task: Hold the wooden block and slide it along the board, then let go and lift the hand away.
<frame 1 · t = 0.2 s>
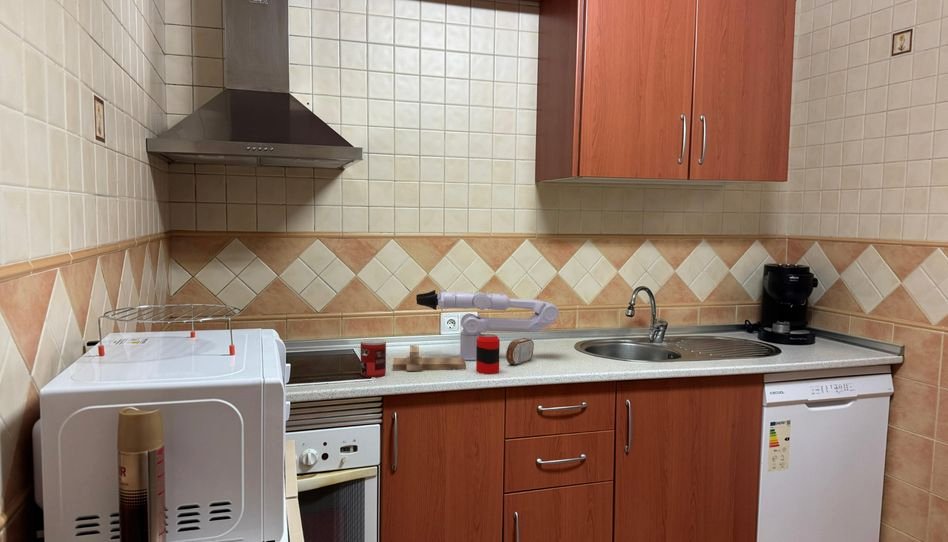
hand: (416, 299, 228), 21 cm above the worktop, tool horizontal, fingers open, 7 cm apart
board: (429, 366, 217), on the worktop
wooden block: (414, 361, 217), point 2 cm above the worktop, touching board
canned food: (373, 375, 205), on the worktop
soda can: (487, 372, 211), on the worktop
tin: (520, 363, 225), on the worktop
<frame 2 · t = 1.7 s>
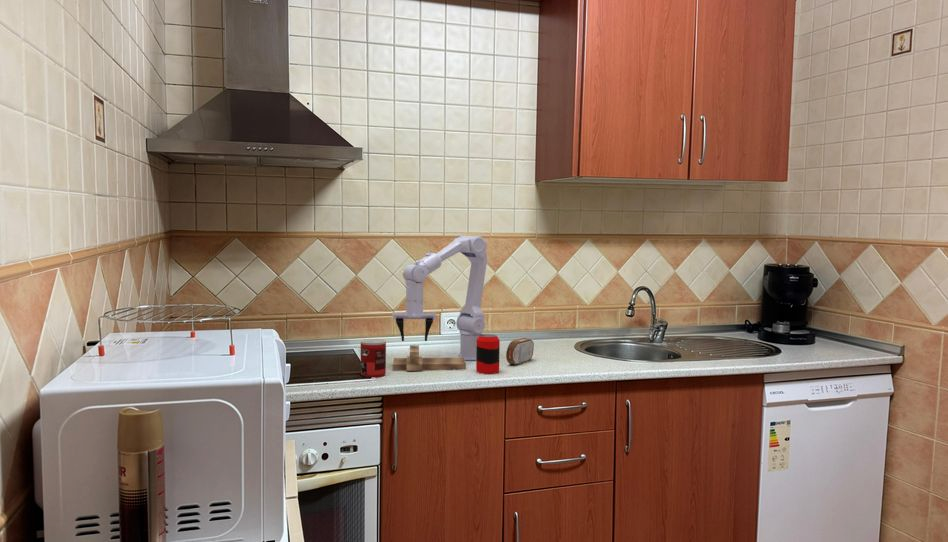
hand: (414, 340, 216), 9 cm above the worktop, tool pointing down, fingers open, 7 cm apart
nothing on the worktop moved.
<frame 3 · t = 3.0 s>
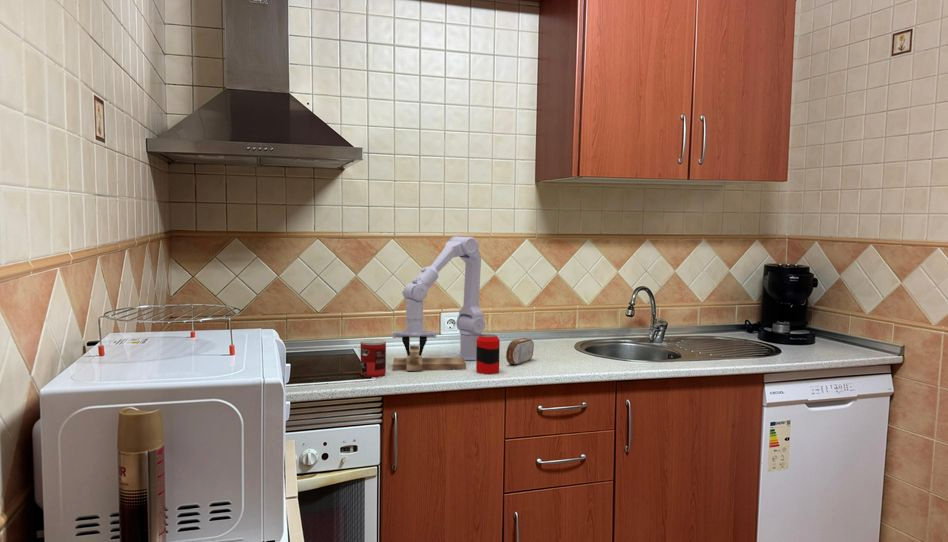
hand: (414, 358, 217), 3 cm above the worktop, tool pointing down, fingers closed on wooden block, 3 cm apart
wooden block: (414, 361, 217), point 2 cm above the worktop, touching board, gripper
everything else where it was.
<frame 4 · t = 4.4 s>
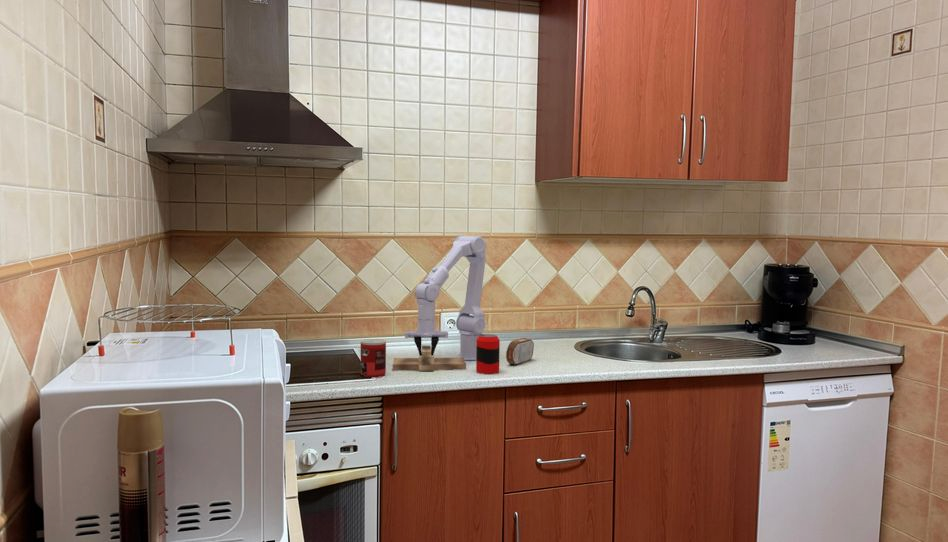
hand: (426, 358, 217), 3 cm above the worktop, tool pointing down, fingers closed on wooden block, 3 cm apart
wooden block: (426, 360, 217), point 2 cm above the worktop, touching gripper
everything else where it was.
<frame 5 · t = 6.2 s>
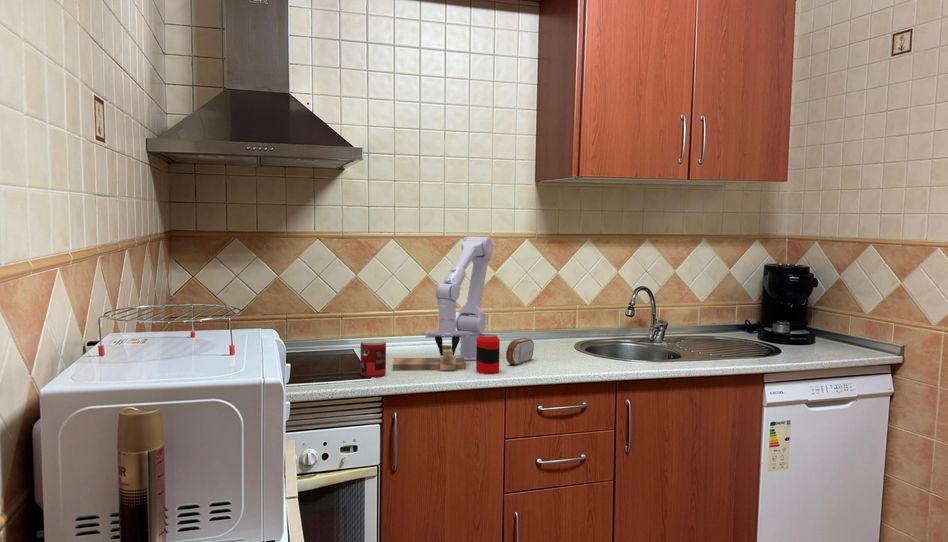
hand: (447, 358, 218), 3 cm above the worktop, tool pointing down, fingers closed on wooden block, 3 cm apart
wooden block: (447, 360, 218), point 2 cm above the worktop, touching board, gripper
everything else where it was.
when the fingers open (3 cm above the worktop, at t = 7.0 s): wooden block stays where it is, resting on board.
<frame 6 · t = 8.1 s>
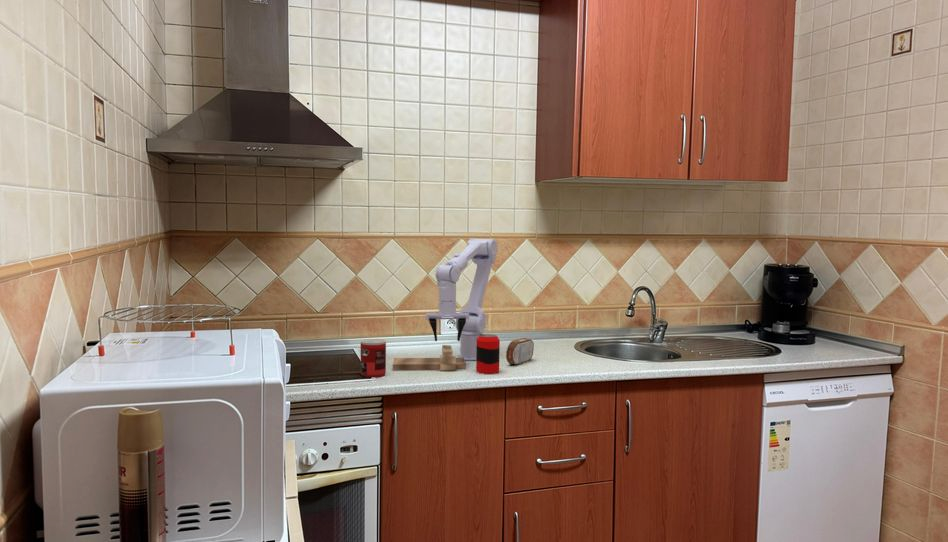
hand: (447, 340, 217), 9 cm above the worktop, tool pointing down, fingers open, 7 cm apart
wooden block: (447, 360, 218), point 2 cm above the worktop, touching board
everything else where it was.
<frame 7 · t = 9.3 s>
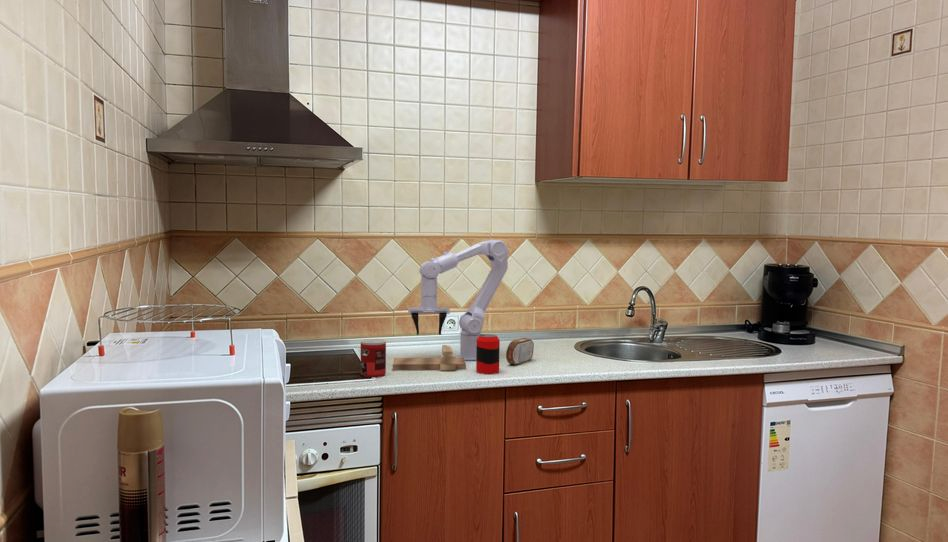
hand: (428, 334, 227), 9 cm above the worktop, tool pointing down, fingers open, 7 cm apart
nothing on the worktop moved.
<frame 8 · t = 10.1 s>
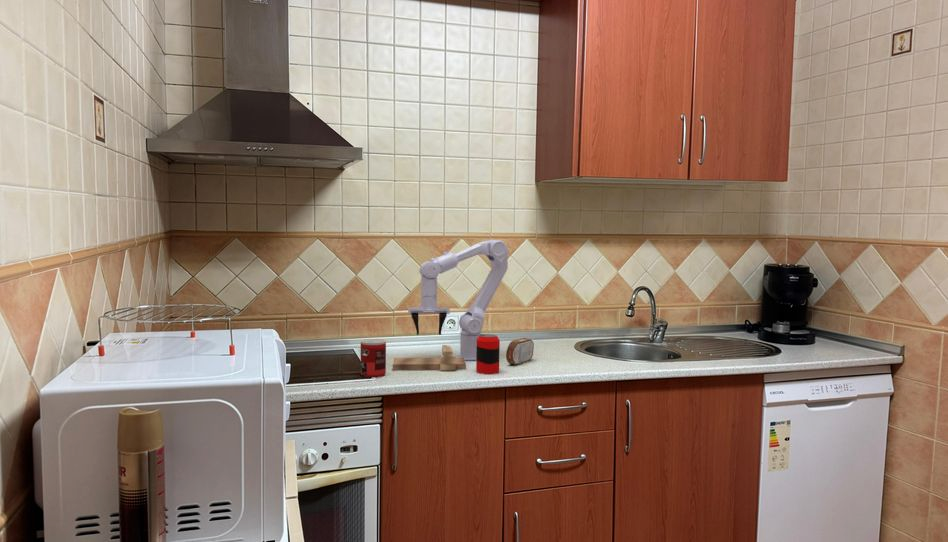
hand: (428, 334, 227), 9 cm above the worktop, tool pointing down, fingers open, 7 cm apart
nothing on the worktop moved.
at the end: wooden block 0.2 cm from the target spot, point 2.0 cm above the worktop; wooden block tilted 0°; the gripper is holding nothing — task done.
